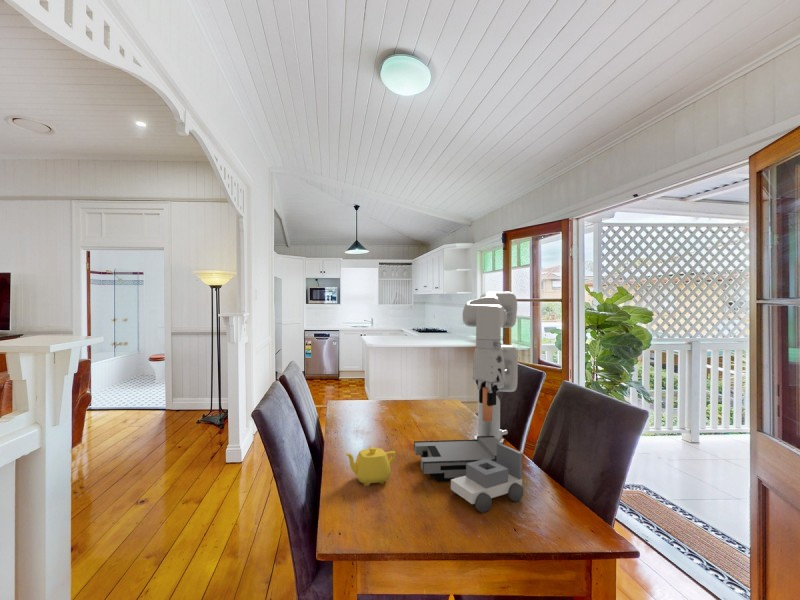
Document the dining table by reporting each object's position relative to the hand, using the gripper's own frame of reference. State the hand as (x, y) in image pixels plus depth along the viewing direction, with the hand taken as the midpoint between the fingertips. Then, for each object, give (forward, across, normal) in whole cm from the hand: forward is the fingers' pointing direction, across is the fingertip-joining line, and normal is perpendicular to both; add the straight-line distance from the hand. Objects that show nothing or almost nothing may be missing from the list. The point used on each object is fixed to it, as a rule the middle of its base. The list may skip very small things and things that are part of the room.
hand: (487, 403), depth 117 cm
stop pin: (+5, 0, 0) cm, 5 cm away
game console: (+29, +20, -6) cm, 36 cm away
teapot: (+29, +27, +27) cm, 48 cm away
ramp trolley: (+29, 0, 0) cm, 29 cm away
